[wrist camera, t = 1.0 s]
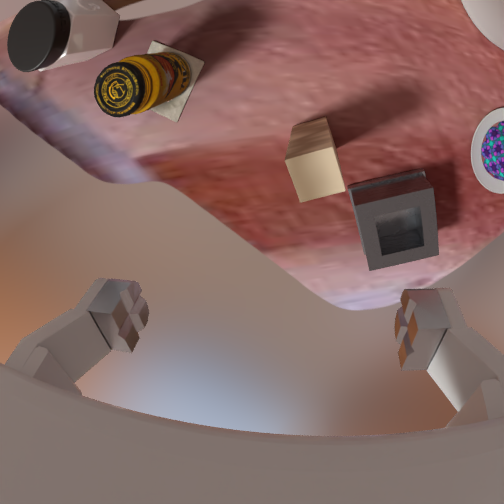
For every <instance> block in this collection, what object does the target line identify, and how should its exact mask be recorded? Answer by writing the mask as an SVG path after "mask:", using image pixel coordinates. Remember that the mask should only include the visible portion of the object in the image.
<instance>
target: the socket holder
mask: <svg viewBox="0 0 504 504" xmlns="http://www.w3.org/2000/svg"><path fill="white" fill-rule="evenodd" d="M347 187H348V191H349V195H350V198H351V202H352V206H353V210H354V214H355V218H356V222H357V226H358V230H359V234H360V238H361V242H362V247H363V251H364V254H366V256H367V261H368V266H369V271H372V270H376V269H381V268H385V267H390V266H394V265H398V264H403V263H407V262H411V261H416V260H420V259H424V258H428V257H432V256H436V255H439V248H438V231H437V218H436V207H435V198H434V189H433V187H432V185H431V184H430V182H429V181H428V180H427V179H426V176H425V171H424V170H423V168H421V169H416V170H412V171H407V172H403V173H399V174H394V175H390V176H386V177H381V178H377V179H373V180H369V181H365V182H361V183H357V184H353V185H348V186H347Z"/></svg>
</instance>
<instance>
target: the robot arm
mask: <svg viewBox="0 0 504 504" xmlns="http://www.w3.org/2000/svg"><path fill="white" fill-rule="evenodd" d="M461 1H462V3H463V5H464V8H465V10H466V11H467V13H468V15H469V17H470V18H471V20H472V21H473V23H474V24H475V25H476V27H477V28H478V29H479V30H480V31H481V32H482V34H483V35H484V36H485V37H486V38H488V39H489V40H490V41H491V42H492V43H494V44H495V45H496V46H498V47H499V48H501V49H502V50H504V0H461ZM141 291H142V290H141V287H140V285H139V283H138V282H136V281H129V280H119V279H106V278H98V279H96V280H95V281H94V283H93V284H92V285H91V287H90V288H89V289H88V291H87V292H86V293H85V295H84V296H83V297H82V299H81V300H80V302H79V303H78V304H77V306H76V307H75V309H70V310H68V311H66V312H65V313H63V314H61V315H60V316H58V317H57V318H55V319H53V320H52V321H50V322H48V323H47V324H45V325H44V326H42V327H41V328H39V329H37V330H36V331H34V332H32V333H31V334H29V335H28V336H26V337H24V338H23V339H22V340H21V341H20V343H19V344H18V345H17V347H16V348H15V350H14V351H13V353H12V354H11V356H10V357H9V359H8V360H7V362H6V363H5V365H4V364H2V363H0V504H504V355H503V354H502V353H501V352H500V351H499V350H498V349H496V348H495V347H494V346H493V345H492V344H491V343H489V342H488V341H487V340H486V339H485V338H484V337H483V336H481V335H480V334H479V333H478V332H477V331H475V330H474V329H473V328H472V327H467V325H466V322H465V319H464V317H463V314H462V312H461V310H460V307H459V305H458V302H457V300H456V298H455V295H454V293H453V291H452V289H450V288H435V289H404V291H403V292H402V295H401V299H400V300H401V304H402V307H401V308H400V309H398V310H397V313H396V318H395V326H394V328H395V338H396V341H397V342H398V343H399V344H400V345H401V346H400V349H399V351H398V356H399V361H400V367H401V371H402V370H427V372H428V373H429V375H430V376H431V377H432V378H433V380H434V381H435V382H436V383H437V385H438V386H439V387H440V389H441V390H442V391H443V392H444V394H445V395H446V396H447V398H448V399H449V400H450V402H451V403H452V404H453V406H454V407H455V408H456V409H457V411H458V413H457V414H456V415H455V416H454V418H453V419H452V420H451V421H450V422H449V423H448V424H447V426H446V428H442V429H435V430H427V431H419V432H409V433H399V434H386V435H367V436H303V435H302V436H301V435H284V434H270V433H259V432H249V431H240V430H232V429H224V428H217V427H210V426H204V425H198V424H192V423H187V422H182V421H177V420H171V419H167V418H162V417H157V416H153V415H149V414H145V413H140V412H136V411H132V410H129V409H125V408H121V407H118V406H114V405H111V404H107V403H104V402H100V401H97V400H94V399H91V398H88V397H85V396H82V393H81V391H80V389H79V388H78V387H77V386H76V385H75V384H74V383H75V382H76V381H77V380H78V379H79V378H80V377H82V376H83V375H84V374H85V373H86V372H87V371H88V370H90V369H91V368H92V367H93V366H94V365H95V364H97V363H98V362H99V361H100V360H101V359H103V358H104V357H105V356H106V355H107V354H108V353H109V352H111V350H116V351H122V352H129V353H132V352H133V350H134V348H135V346H136V344H137V342H138V340H139V334H138V332H139V331H141V330H142V329H144V328H145V326H146V324H147V321H148V316H149V309H148V305H147V302H146V300H145V299H144V298H142V297H141V296H140V294H141Z"/></svg>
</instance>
